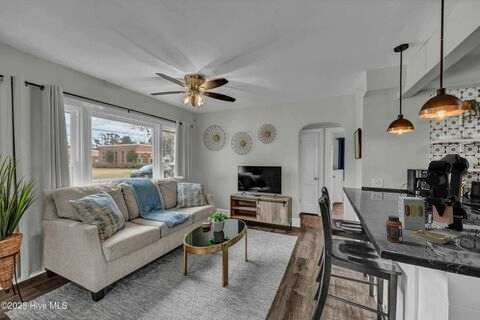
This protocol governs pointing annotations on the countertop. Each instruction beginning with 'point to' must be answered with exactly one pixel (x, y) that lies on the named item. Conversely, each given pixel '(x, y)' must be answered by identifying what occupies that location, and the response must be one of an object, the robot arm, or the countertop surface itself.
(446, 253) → the countertop surface
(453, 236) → the pad
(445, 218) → the part block
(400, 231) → the supplement bottle
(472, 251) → the countertop surface
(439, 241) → the wooden frame
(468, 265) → the countertop surface
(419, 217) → the supplement box
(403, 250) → the countertop surface
